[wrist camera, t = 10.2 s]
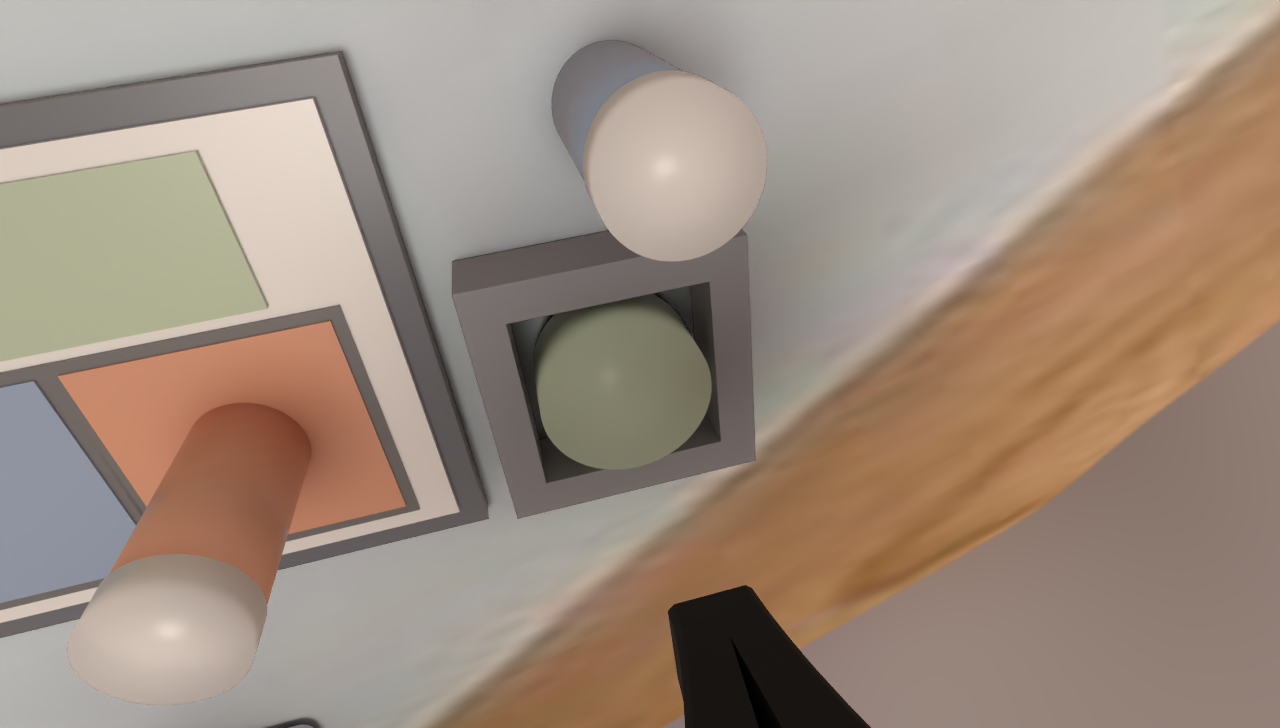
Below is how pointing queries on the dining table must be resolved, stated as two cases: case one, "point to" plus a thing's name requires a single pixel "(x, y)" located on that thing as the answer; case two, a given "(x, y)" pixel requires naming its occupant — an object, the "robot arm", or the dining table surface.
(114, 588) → the terracotta marker
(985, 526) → the dining table surface
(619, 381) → the button
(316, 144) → the colour zone board
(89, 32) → the dining table surface
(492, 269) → the button collar
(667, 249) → the slate blue marker
